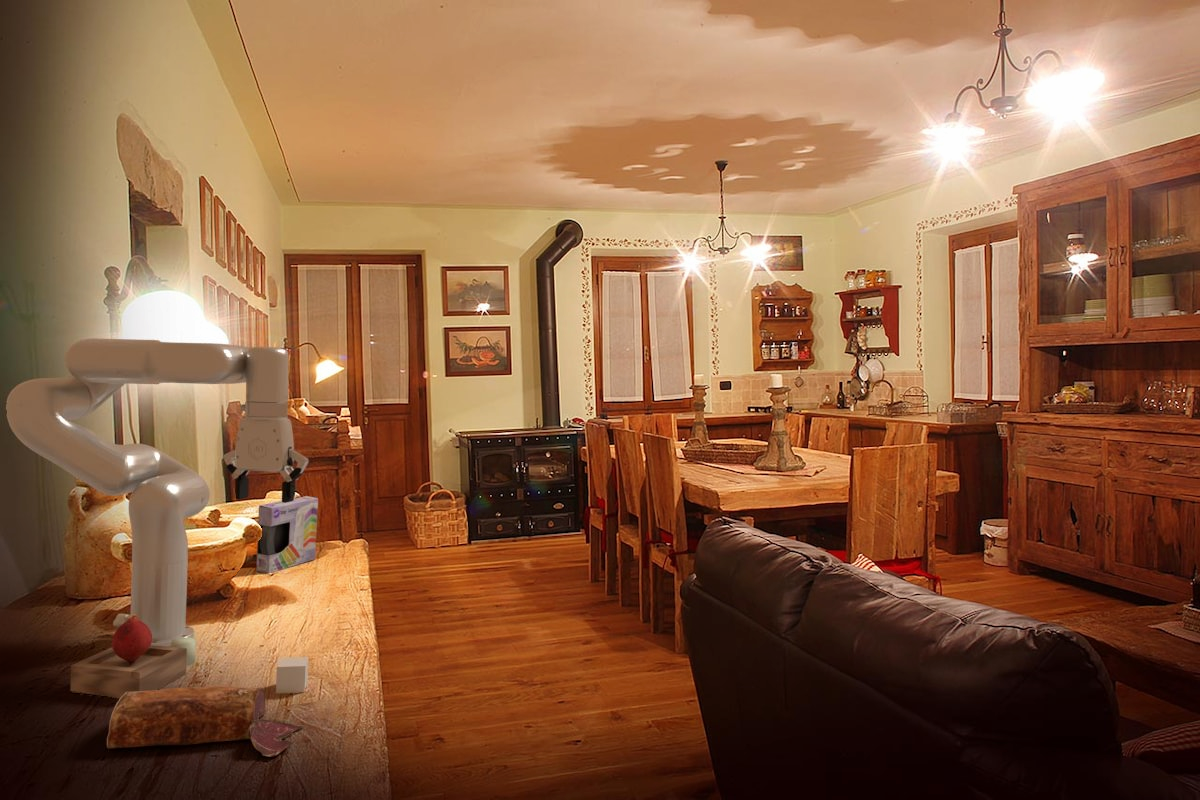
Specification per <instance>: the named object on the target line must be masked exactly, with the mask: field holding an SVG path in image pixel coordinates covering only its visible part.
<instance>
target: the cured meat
mask: <svg viewBox="0 0 1200 800" xmlns="http://www.w3.org/2000/svg"><path fill="white" fill-rule="evenodd" d="M265 713H266V696H265V691H264V690H263V689H262V688H261V687H244V686H243V687H242V686H240V687H239V686H198V687H197V686H195V687H194V686H193V687H174V688H173V687H172V688H164V689H163V688H161V689H159V690H151V691H135V692H125V694H124V695H123V696H121V698H118V700H117V702H116V704H115V706H114V707H113V710H112V713H111V716H110V718H109V725H108V734H107V736H106V748H107V749H121V748H124V749H125V748H136V747H137V748H138V747H139V748H140V747H152V746H184V745H185V746H186V745H189V746H190V745H197V744H204V743H205V744H206V743H217V742H227V741H228V742H230V741H241V740H250V741H251V743H252V745H253V747H254V748H255V749H256V750H257V751H258V752H260V753H261V755H262V756H265V757H269V758H271V757H275V756H277V755H279V754H280V753H282V752H283V751H285V749H287V748H288V747H289V746H290V745H291V743H292V742H291V741H289V740H285V739H286V738H287V737H289V736H290V735H291V734H292V733H293V732H296V731H299V730H301V729H303V727H304V725H301V724H294V723H293V724H292V723H288V722H287V723H286V722H284V721H283V722H282V721H278V720H270V719H260V718H261V717H264V715H265ZM283 739H284V740H283Z"/></svg>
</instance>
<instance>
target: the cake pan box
mask: <svg viewBox="0 0 1200 800" xmlns="http://www.w3.org/2000/svg"><path fill="white" fill-rule="evenodd" d="M318 506H319V498H318V497H313V496H308V495H305V496H302V497H300V496H299V497H297V498H295V497H294V500H293V501H291V502H287V503H283V502H282V500H278V501H274V502H269V503H264V504H259V505H258V521H257V522H258V524H259V525H260V526H261V528H262V537H261V539H260V540H259V541H258V540H257V548H256V550H257V551H256V570H255V571H256V572H258V573H264V574H271V573H274V572H278V571H282V570H286V569H288V568H291V567H294V566H297V565H301V564H303V563H304V564H305V563H307V562H310V561H313V560H315V559H316V547H317V531H318V530H317V528H318V527H317V526H318V509H319V508H318ZM258 524H257V525H258Z"/></svg>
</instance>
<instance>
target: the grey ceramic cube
mask: <svg viewBox="0 0 1200 800" xmlns="http://www.w3.org/2000/svg"><path fill="white" fill-rule="evenodd" d="M309 658H310V657H309V656H303V657H300V656H299V657H295V656H294V657H280V659H279V661H278V663H277V666H276V680H275V681H276V682H275V694H295V693H296V694H298V693H300V692H303V693H305V692H306V689H305V688H307V686H308V683H307V681H308V680H309V679H308V677H309ZM308 682H309V681H308ZM306 685H307V686H306Z"/></svg>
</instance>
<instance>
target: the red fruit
mask: <svg viewBox="0 0 1200 800" xmlns="http://www.w3.org/2000/svg"><path fill="white" fill-rule="evenodd" d="M138 617H139V616H138V615H136V614H134V615H132V616H131V617H130V618H129V619H128V620H127V621H126V622H125V623H123V624H122V625H121V626H120V627H117V629H116V631H114V634H113V635H112V640H111V648H112V647H113V650H114V652H115V654H116V655H117V656H119V657H120V658H122V659H124V660H126V661H128V662H130V663H131V662H135V661H136V660H137V659H138V658H139V657H141V656H142V655H143V654H144V653H145V652H146V651H147V650H148V649H149V648H150V646H151V643H152V633H151V631H150V629H149V628H148V626H147V625H146V624H145V623H143V622H141V621H139V620H138Z"/></svg>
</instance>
